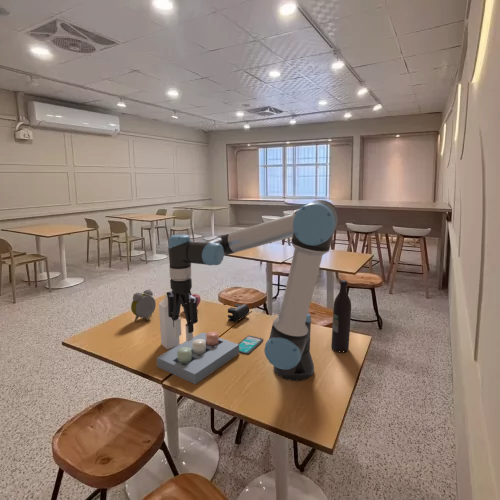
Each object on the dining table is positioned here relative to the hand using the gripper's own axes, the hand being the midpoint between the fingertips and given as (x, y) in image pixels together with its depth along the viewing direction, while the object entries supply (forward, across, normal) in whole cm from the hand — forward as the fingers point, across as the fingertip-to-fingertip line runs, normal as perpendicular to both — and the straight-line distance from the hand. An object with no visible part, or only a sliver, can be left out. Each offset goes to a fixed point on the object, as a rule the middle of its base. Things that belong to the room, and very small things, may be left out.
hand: (183, 337), depth 125 cm
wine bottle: (+13, -43, -48) cm, 66 cm away
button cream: (+9, 0, -8) cm, 12 cm away
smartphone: (+13, -9, -29) cm, 33 cm away
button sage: (+9, 0, 0) cm, 9 cm away
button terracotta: (+9, 0, -16) cm, 18 cm away
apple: (+13, +39, -44) cm, 60 cm away
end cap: (+13, +11, -49) cm, 52 cm away
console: (+13, 0, -8) cm, 15 cm away
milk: (+13, +19, -10) cm, 25 cm away
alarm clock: (+13, +50, -21) cm, 56 cm away
